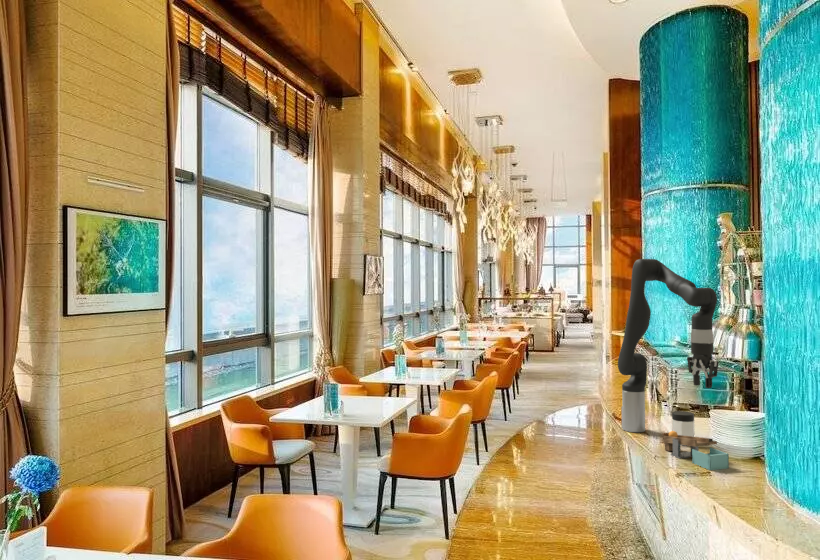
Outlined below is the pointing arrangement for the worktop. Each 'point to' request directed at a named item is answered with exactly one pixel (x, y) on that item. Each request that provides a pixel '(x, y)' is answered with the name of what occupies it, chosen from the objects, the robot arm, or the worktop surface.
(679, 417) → the jar
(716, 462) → the box
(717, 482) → the worktop surface
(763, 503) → the worktop surface
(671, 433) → the ball
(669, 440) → the lever
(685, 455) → the fulcrum
